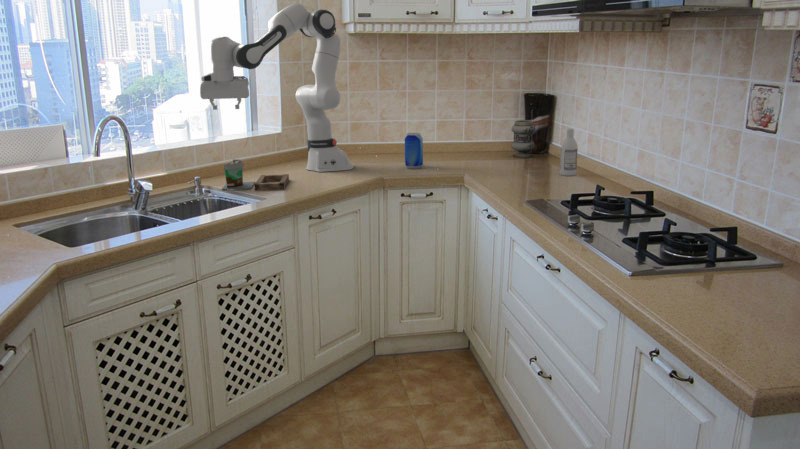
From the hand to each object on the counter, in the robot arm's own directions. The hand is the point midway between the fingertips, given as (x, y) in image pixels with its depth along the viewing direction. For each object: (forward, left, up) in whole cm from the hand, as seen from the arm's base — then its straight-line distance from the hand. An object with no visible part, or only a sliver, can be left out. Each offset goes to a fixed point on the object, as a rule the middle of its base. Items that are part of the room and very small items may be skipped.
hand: (226, 109), depth 277 cm
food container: (-5, +14, -31) cm, 34 cm away
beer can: (-82, -15, -31) cm, 89 cm away
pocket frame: (-19, +13, -31) cm, 39 cm away
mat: (-5, +14, -31) cm, 34 cm away
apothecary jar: (-139, -34, -31) cm, 147 cm away
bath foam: (-148, +12, -31) cm, 151 cm away
